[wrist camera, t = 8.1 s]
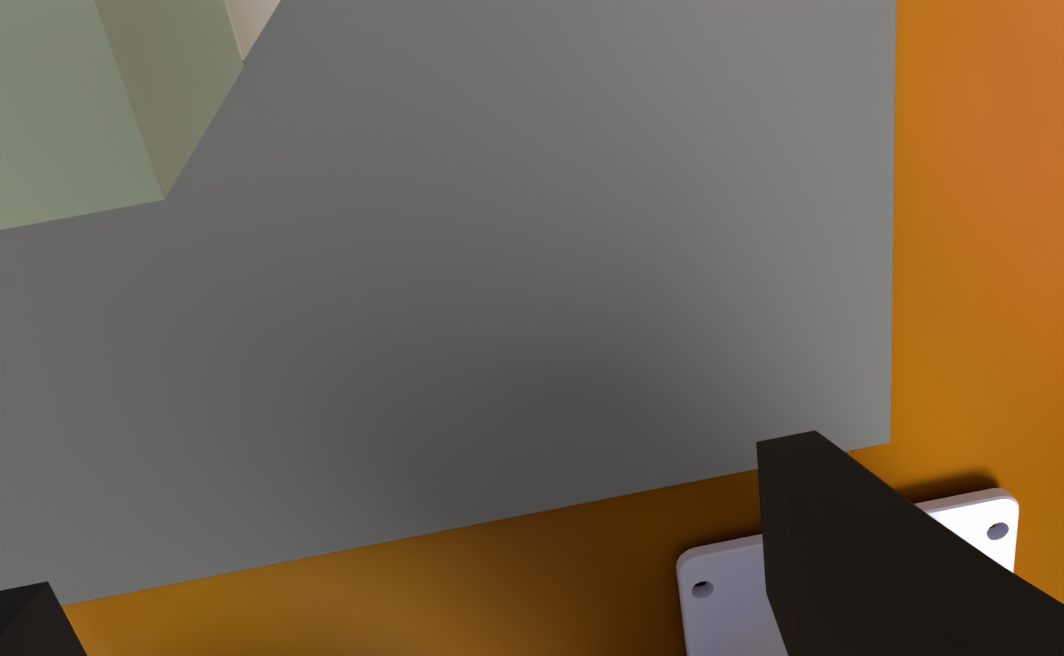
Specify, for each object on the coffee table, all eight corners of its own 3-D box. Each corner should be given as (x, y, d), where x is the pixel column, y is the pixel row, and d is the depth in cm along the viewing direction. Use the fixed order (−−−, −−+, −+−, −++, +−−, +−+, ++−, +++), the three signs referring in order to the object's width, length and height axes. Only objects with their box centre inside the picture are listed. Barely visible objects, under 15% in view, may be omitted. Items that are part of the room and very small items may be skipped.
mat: (883, 432, 23) (890, 442, 22) (-96, 625, 22) (-105, 638, 22) (893, -839, 13) (907, -857, 13) (-834, -537, 13) (-868, -545, 12)
